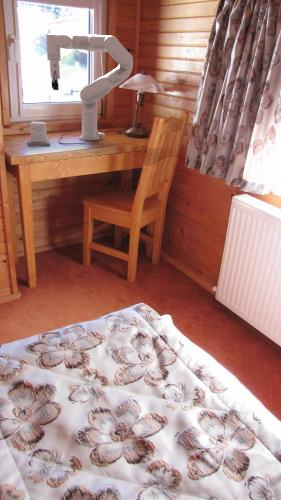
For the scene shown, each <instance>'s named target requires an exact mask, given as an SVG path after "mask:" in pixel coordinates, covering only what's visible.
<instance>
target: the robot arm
mask: <svg viewBox="0 0 281 500" xmlns="http://www.w3.org/2000/svg"><path fill="white" fill-rule="evenodd" d="M61 49H66V50H82V51H87V52H99V53H108V54H109V55H110V56H111V58H112V59H113V60H114V61H115V62H116V64H118V65H117V67H116V68H114V69H112V70H111V71H110V72H108V73H106V74H105V75H102V76H100V77H99V78H97V79H96V80H94V81H93V82H91V83H89V84H87V85H85V86H84V87H82V89H81V90H80V92H79V97H80V100H81V135H79V139H80V140H84V141H97V140H100V136H101V137H105V132H99V131H98V100H99V99H101V98H103V97H105V96H106V95H107V94H109V93H110V92H111V90H113V89H114V88H115V87H117V86H119V85H120V84H122V83H123V82H125V81H126V80H127V79H128V78H129V77H130V75H131V73H132V71H133V67H134V57H133V55H132V54H131V53H130V52H129V51H128V50H127V49H126V48H125V47H124V46H123V44H122V43H121V42H120V41H119V40H118V38H117V37H116V36H114V35H101V34H86V35H84V34H83V35H82V34H81V35H79V34H68V33H61V34H57V33H47V34H46V53H47V61H49V71H50V72H49V73H50V78H51V88H52V89H53V91H59V80H60V79H61V72H60V69H61V68H60V62H61V61H62V58H61V56H62V55H61Z"/></svg>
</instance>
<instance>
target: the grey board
mask: <svg viewBox="0 0 281 500" xmlns="http://www.w3.org/2000/svg"><path fill="white" fill-rule="evenodd" d="M27 143H28V145H27V146H28V147H51V141H50V139H49V138H47V141H46V142H31V138H28V139H27Z"/></svg>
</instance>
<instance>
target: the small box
mask: <svg viewBox="0 0 281 500" xmlns="http://www.w3.org/2000/svg"><path fill="white" fill-rule="evenodd" d="M29 130H30V139H31V142H46V141H47V139H48V136H47V122H45V121H31V122H29Z"/></svg>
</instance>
